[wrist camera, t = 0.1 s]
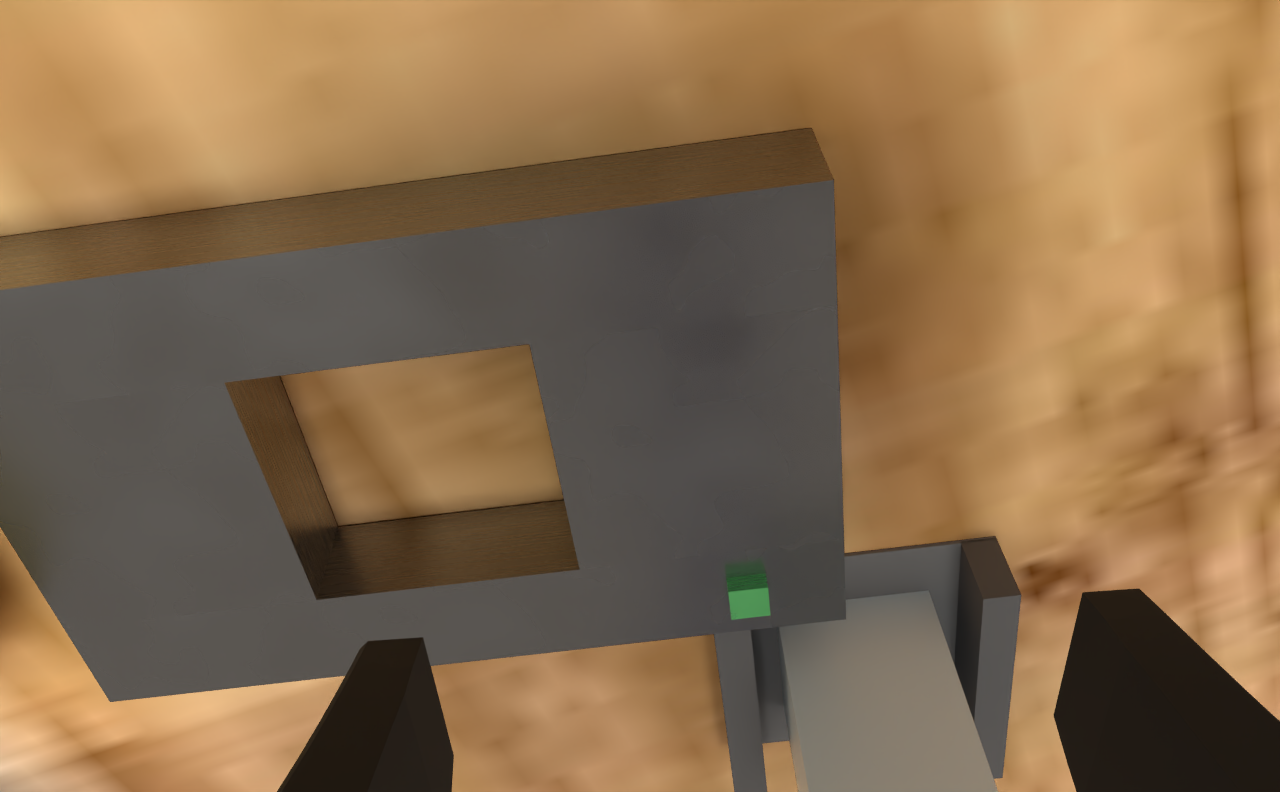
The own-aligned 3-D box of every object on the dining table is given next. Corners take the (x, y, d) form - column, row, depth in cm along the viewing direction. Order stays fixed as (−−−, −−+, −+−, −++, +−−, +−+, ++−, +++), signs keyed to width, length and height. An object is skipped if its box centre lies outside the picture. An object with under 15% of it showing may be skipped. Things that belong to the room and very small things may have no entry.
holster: (978, 710, 28) (1002, 777, 27) (728, 737, 29) (736, 805, 27) (992, 530, 25) (1021, 594, 23) (705, 563, 25) (713, 629, 23)
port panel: (828, 547, 25) (849, 633, 23) (145, 626, 25) (102, 716, 23) (811, 128, 19) (838, 191, 17) (-70, 246, 20) (-151, 320, 18)
